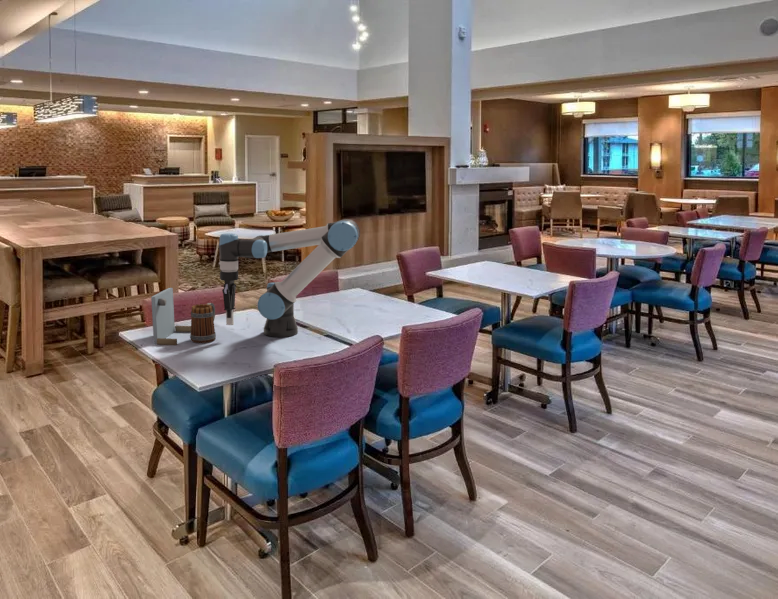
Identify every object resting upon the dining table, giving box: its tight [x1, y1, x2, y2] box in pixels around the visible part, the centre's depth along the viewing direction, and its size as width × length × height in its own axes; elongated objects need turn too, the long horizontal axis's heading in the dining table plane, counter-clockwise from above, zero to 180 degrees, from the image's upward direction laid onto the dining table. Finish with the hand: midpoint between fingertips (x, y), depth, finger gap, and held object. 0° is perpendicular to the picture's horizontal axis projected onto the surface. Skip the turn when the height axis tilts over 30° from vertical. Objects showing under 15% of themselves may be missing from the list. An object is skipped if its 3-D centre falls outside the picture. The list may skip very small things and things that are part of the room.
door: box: [150, 287, 176, 345], centre depth 269 cm, size 4×20×20 cm, turn 179°
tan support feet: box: [156, 325, 191, 346], centre depth 271 cm, size 8×22×2 cm, turn 179°
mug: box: [189, 302, 217, 344], centre depth 270 cm, size 16×11×15 cm
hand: (229, 324), depth 270 cm, fingers closed
